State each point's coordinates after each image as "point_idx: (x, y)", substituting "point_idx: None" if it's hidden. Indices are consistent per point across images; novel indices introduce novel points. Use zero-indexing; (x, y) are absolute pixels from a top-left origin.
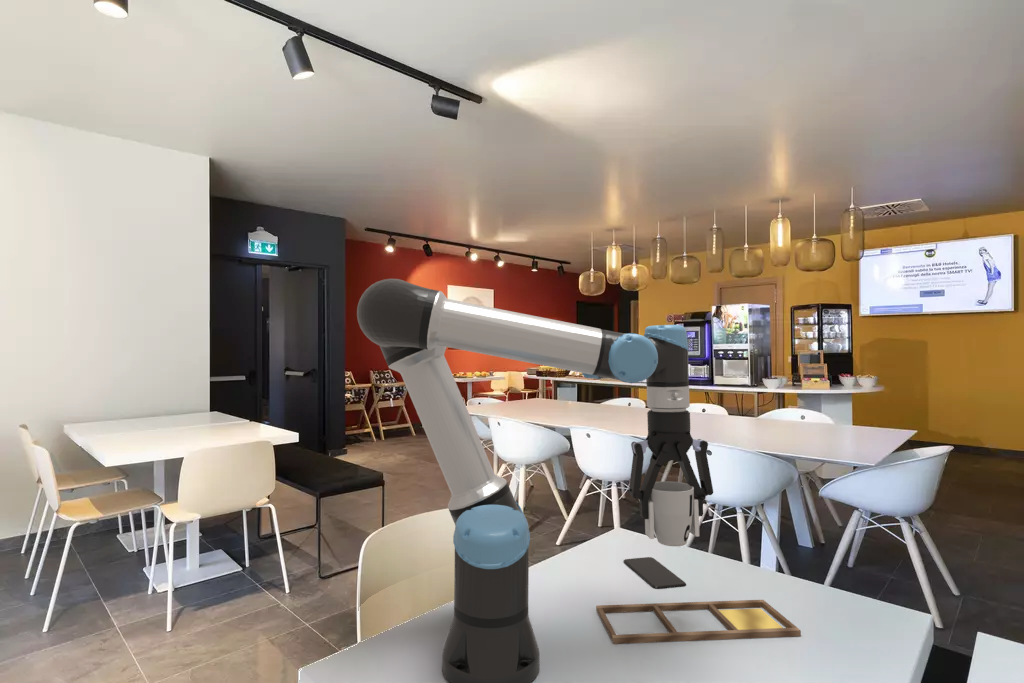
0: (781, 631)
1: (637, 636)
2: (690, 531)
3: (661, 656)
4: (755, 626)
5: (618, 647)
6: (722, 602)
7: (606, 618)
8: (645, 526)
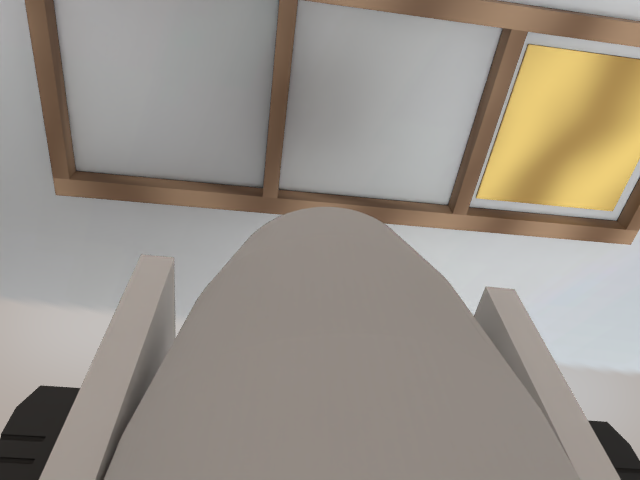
0: (577, 238)
1: (137, 199)
2: (480, 311)
3: (189, 259)
4: (551, 175)
5: (75, 203)
6: (576, 28)
7: (48, 65)
8: (124, 298)
